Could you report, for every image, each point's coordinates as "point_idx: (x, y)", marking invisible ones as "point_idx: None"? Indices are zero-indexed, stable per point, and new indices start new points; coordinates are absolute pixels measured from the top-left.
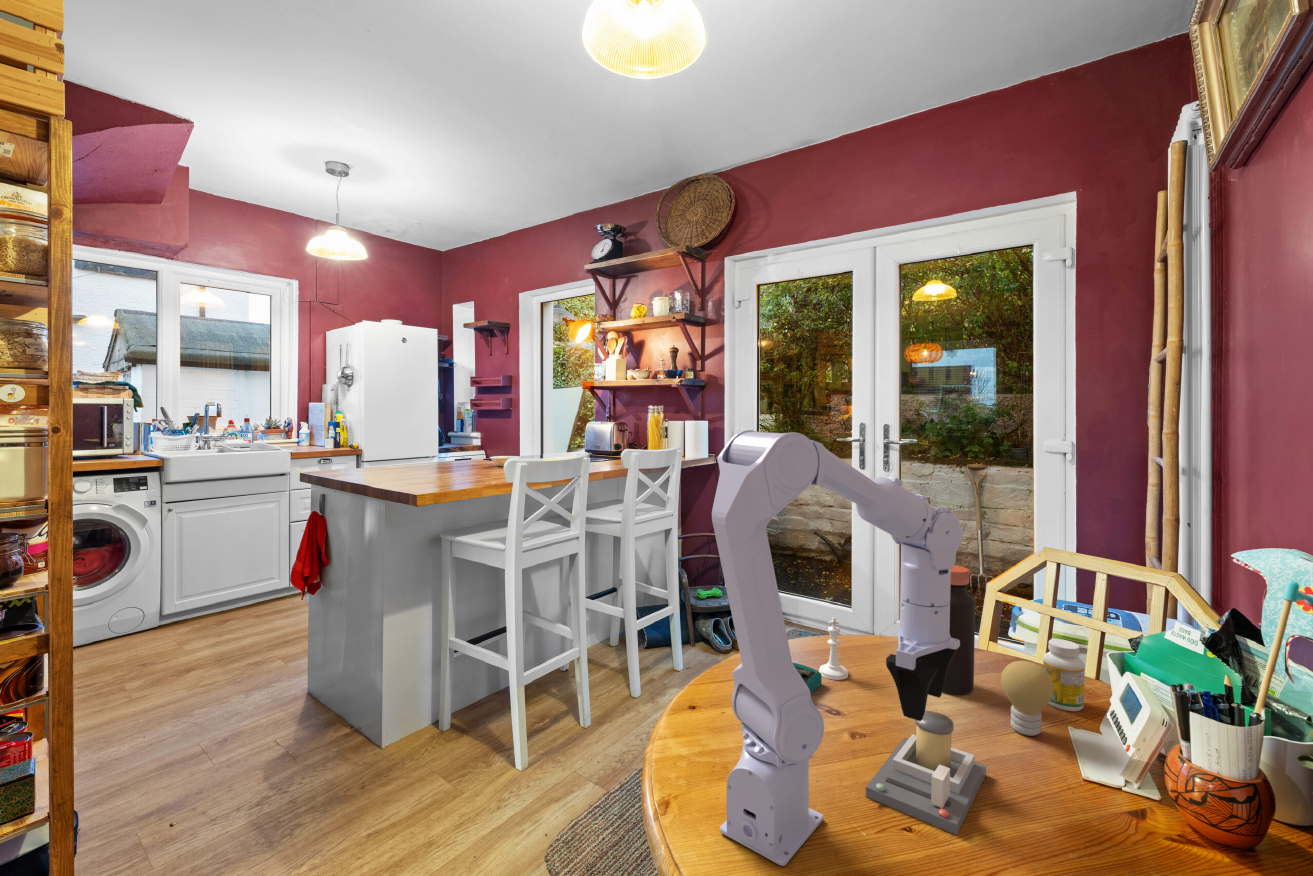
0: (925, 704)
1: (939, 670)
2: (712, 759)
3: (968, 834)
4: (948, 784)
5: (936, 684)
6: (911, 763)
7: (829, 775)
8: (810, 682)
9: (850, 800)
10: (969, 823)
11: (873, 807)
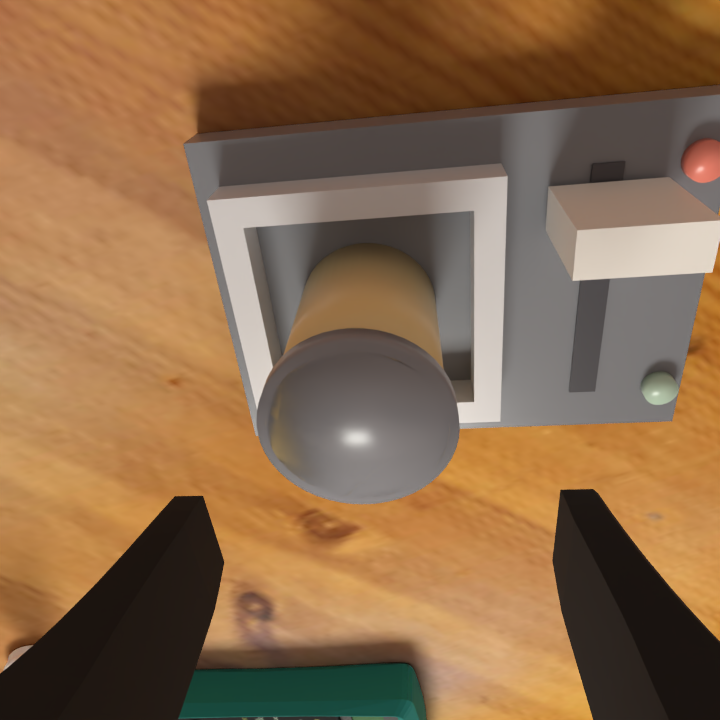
0: (623, 568)
1: (124, 669)
2: None
3: (685, 47)
4: (587, 204)
5: (177, 577)
6: (481, 367)
7: (606, 504)
8: (211, 707)
9: (706, 422)
10: (602, 70)
11: (705, 362)
